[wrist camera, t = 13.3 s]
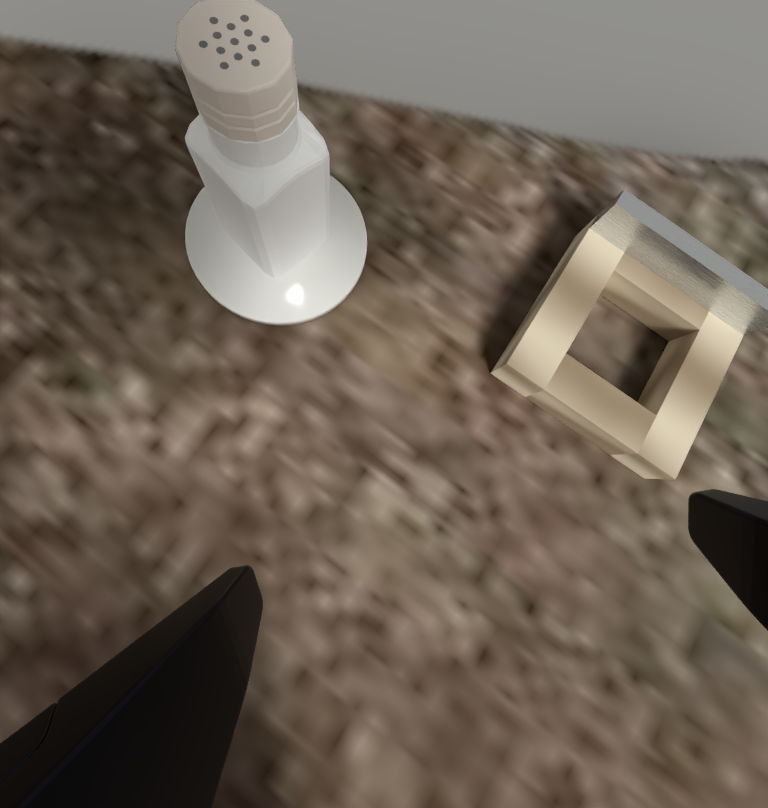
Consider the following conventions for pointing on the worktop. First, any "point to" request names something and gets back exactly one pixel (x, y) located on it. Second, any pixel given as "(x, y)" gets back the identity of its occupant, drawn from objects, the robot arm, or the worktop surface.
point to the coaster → (300, 287)
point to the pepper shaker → (254, 132)
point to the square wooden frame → (654, 307)
